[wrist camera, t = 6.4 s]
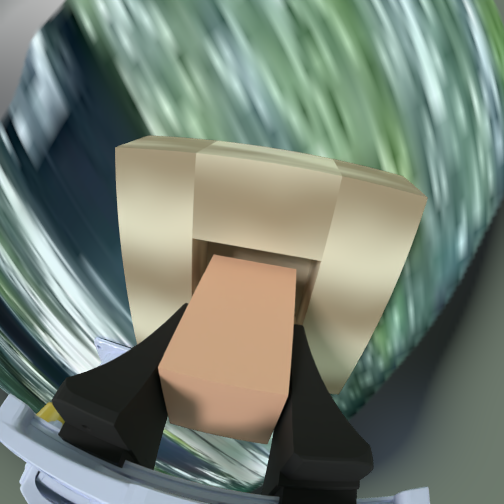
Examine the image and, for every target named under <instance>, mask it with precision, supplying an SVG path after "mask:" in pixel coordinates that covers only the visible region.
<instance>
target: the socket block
mask: <svg viewBox="0 0 504 504" xmlns="http://www.w3.org/2000/svg"><path fill="white" fill-rule="evenodd" d="M115 157H116V188H117V205H118V219H119V230H120V240H121V249H122V258H123V265H124V273H125V280H126V286H127V293H128V299H129V305H130V310H131V316H132V321H133V326H134V331H135V336H136V341H137V344H139V343H140V342H142V341H143V340H144V339H145V338H147V337H148V336H149V335H150V334H152V333H153V332H154V331H155V330H157V329H158V328H159V327H160V326H161V325H162V324H163V323H165V322H166V321H167V320H168V319H169V318H170V317H171V316H172V315H173V314H174V313H175V312H176V311H177V310H178V309H179V308H180V307H181V306H182V305H183V304H185V303H188V304H189V302H190V300H191V298H192V296H193V294H194V292H195V290H196V288H197V286H198V284H199V282H200V280H201V278H202V276H203V274H204V272H205V270H206V268H207V267H208V265H209V263H210V261H211V259H212V257H213V255H219V256H225V257H230V258H236V259H242V260H247V261H253V262H258V263H264V264H270V265H275V266H281V267H287V268H292V269H296V291H295V310H294V324H298V325H303V327H304V329H305V333H306V337H307V341H308V344H309V347H310V350H311V353H312V356H313V359H314V361H315V364H316V366H317V369H318V371H319V373H320V376H321V378H322V380H323V382H324V384H325V386H326V388H327V390H328V391H329V393H330V394H339V393H340V391H341V390H342V388H343V386H344V385H345V383H346V381H347V380H348V378H349V376H350V375H351V373H352V371H353V369H354V368H355V366H356V364H357V362H358V360H359V359H360V357H361V355H362V353H363V351H364V349H365V347H366V346H367V344H368V342H369V340H370V338H371V336H372V334H373V332H374V330H375V328H376V326H377V324H378V322H379V320H380V318H381V316H382V314H383V312H384V309H385V307H386V305H387V303H388V301H389V299H390V296H391V294H392V292H393V290H394V287H395V285H396V283H397V280H398V278H399V276H400V273H401V271H402V268H403V266H404V263H405V261H406V258H407V256H408V253H409V251H410V248H411V245H412V243H413V240H414V237H415V234H416V232H417V229H418V226H419V223H420V220H421V217H422V214H423V211H424V208H425V205H426V202H427V197H426V196H425V195H424V194H423V193H422V192H421V191H420V190H418V189H417V188H416V187H415V186H414V185H413V184H412V183H410V182H409V181H408V180H407V179H406V178H405V177H403V176H400V175H397V174H393V173H389V172H385V171H381V170H378V169H374V168H370V167H365V166H361V165H357V164H353V163H348V162H344V161H339V160H335V159H330V158H325V157H320V156H315V155H310V154H304V153H299V152H293V151H287V150H281V149H275V148H269V147H262V146H255V145H248V144H240V143H232V142H223V141H214V140H204V139H193V138H180V137H165V136H147V137H144V138H141V139H138V140H135V141H132V142H129V143H126V144H123V145H121V146H118V147H115Z"/></svg>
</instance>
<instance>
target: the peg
mask: <svg viewBox="0 0 504 504" xmlns="http://www.w3.org/2000/svg"><path fill="white" fill-rule="evenodd" d="M295 291H296V269H292V268H287V267H281V266H275V265H270V264H264V263H258V262H253V261H247V260H242V259H236V258H230V257H225V256H219V255H213V257H212V259H211V261H210V263H209V265H208V267H207V268H206V270H205V272H204V274H203V276H202V278H201V280H200V282H199V284H198V286H197V288H196V290H195V292H194V294H193V296H192V298H191V300H190V302H189V304H188V306H187V308H186V310H185V312H184V314H183V316H182V318H181V320H180V322H179V324H178V327H177V329H176V331H175V333H174V335H173V337H172V339H171V341H170V343H169V345H168V347H167V349H166V351H165V353H164V356H163V358H162V360H161V362H160V364H159V366H158V371H159V376H160V381H161V386H162V390H163V395H164V400H165V404H166V409H167V413H168V417H169V421H170V423H171V424H174V425H178V426H182V427H185V428H189V429H193V430H197V431H201V432H205V433H209V434H214V435H218V436H223V437H228V438H233V439H238V440H243V441H249V442H255V443H262V444H268V442H269V439H270V437H271V435H272V433H273V430H274V428H275V426H276V423H277V421H278V419H279V416H280V414H281V412H282V409H283V407H284V404H285V402H286V400H287V397H288V393H289V381H290V369H291V356H292V342H293V327H294V310H295Z"/></svg>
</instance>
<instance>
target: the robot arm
mask: <svg viewBox="0 0 504 504" xmlns="http://www.w3.org/2000/svg"><path fill="white" fill-rule="evenodd" d="M187 306H188V303H185V304H183V305H182V306H181V307H180V308H179V309H178V310H177V311H176V312H175V313H174V314H173V315H172V316H171V317H170V318H169V319H168V320H167V321H166V322H165V323H163V324H162V325H161V326H160V327H159V328H158V329H157V330H155V331H154V332H153V333H152V334H150V335H149V336H148V337H147V338H145V339H144V340H143V341H142V342H140V343H139V344H137V345H136V346H134V347H133V348H132V349H131V348H128V347H125V346H122V345H119V344H116V343H113V342H110V341H107V340H104V339H101V338H98V337H97V338H95V340H94V343H95V346H96V349H97V351H98V354H99V357H100V360H101V364H100V366H98V367H96V368H94V369H92V370H89V371H87V372H84V373H81V374H77V375H74V376H71V377H68V378H66V379H65V380H64V382H63V383H62V384H61V386H60V387H59V389H58V391H57V392H56V394H55V395H54V397H53V399H52V404H53V406H54V408H55V409H56V411H57V412H58V413H59V415H60V416H61V417H62V419H63V420H64V421H65V423H64V424H63V425H62V423H61V422H60V421H59V420H56V421H50V422H47V421H45V420H44V419H42V418H40V417H39V416H37V415H35V414H34V412H33V410H32V409H31V408H30V407H29V406H28V405H27V404H25V403H24V402H23V401H21V400H20V399H18V398H17V397H15V396H14V395H12V394H9V395H8V397H7V398H6V400H5V401H4V403H3V404H2V406H1V407H0V442H1V443H3V444H4V445H5V446H6V447H7V448H8V449H10V450H11V451H12V452H13V453H14V454H16V455H17V456H18V457H20V458H21V459H23V460H24V461H25V462H27V463H26V465H25V471H24V473H23V475H22V477H21V479H20V484H21V487H20V490H21V492H22V494H23V496H24V497H25V499H26V501H27V502H28V504H208V503H212V504H430V499H429V488H428V487H421V488H414V489H408V490H404V491H401V492H399V493H397V494H395V495H394V496H387V497H377V498H363V499H357V489H359V485H360V484H359V483H360V480H361V479H362V478H364V477H365V476H366V475H368V474H369V473H370V472H371V471H372V470H373V457H372V452H371V448H370V446H369V444H368V443H367V442H366V441H365V440H364V439H363V438H362V437H361V436H360V435H359V434H358V433H357V432H356V431H355V429H354V428H353V427H352V426H351V424H350V423H349V422H348V421H347V419H346V418H345V416H344V415H343V414H342V412H341V411H340V409H339V408H338V406H337V405H336V403H335V402H334V400H333V398H332V397H331V395H330V393H329V391H328V390H327V388H326V386H325V384H324V382H323V380H322V378H321V376H320V373H319V371H318V369H317V366H316V364H315V361H314V359H313V356H312V353H311V350H310V347H309V344H308V341H307V337H306V333H305V329H304V327H303V325H298V324H294V327H293V342H292V356H291V369H290V381H289V393H288V397H287V400H286V402H285V404H284V407H283V409H282V412H281V414H280V416H279V419H278V421H277V423H276V426H275V428H274V432H273V438H272V444H271V449H270V455H269V460H268V465H267V470H266V475H265V480H264V484H263V489H262V493H261V495H258V494H251V493H245V492H239V491H233V490H227V489H222V488H217V487H213V486H208V485H204V484H200V483H196V482H192V481H188V480H184V479H181V478H177V477H174V476H170V475H167V474H164V473H161V472H158V471H154V466H155V461H156V457H157V453H158V449H159V445H160V441H161V438H162V434H163V430H164V427H165V424H166V420H167V417H168V413H167V409H166V404H165V400H164V395H163V390H162V386H161V381H160V376H159V371H158V366H159V364H160V362H161V360H162V358H163V356H164V353H165V351H166V349H167V347H168V345H169V343H170V341H171V339H172V337H173V335H174V333H175V331H176V329H177V327H178V324H179V322H180V320H181V318H182V316H183V314H184V312H185V310H186V308H187ZM61 426H62V427H61ZM153 487H154V488H157V489H160V490H163V491H166V492H169V493H166V492H163V491H160V490H157V489H154V488H153ZM170 493H173V494H176V495H173V494H170ZM177 495H180V496H183V497H180V496H177ZM184 497H187V498H184ZM188 498H191V499H188ZM192 499H195V500H192ZM196 500H199V501H203V502H199V501H196ZM204 502H208V503H204Z"/></svg>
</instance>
